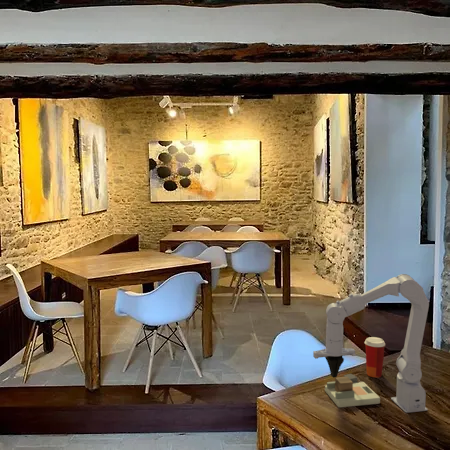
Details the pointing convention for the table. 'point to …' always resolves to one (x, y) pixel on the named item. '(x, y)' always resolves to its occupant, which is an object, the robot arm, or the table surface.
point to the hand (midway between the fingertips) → (333, 376)
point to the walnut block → (343, 384)
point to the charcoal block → (351, 377)
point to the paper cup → (374, 356)
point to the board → (352, 395)
